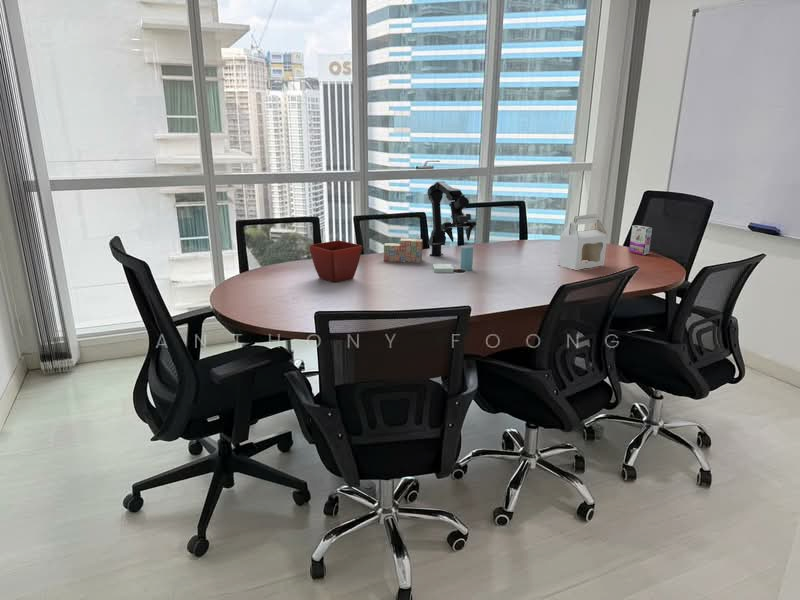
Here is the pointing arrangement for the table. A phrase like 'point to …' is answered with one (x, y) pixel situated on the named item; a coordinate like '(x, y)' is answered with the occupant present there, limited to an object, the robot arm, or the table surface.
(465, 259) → the teal pillar
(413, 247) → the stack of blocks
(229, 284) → the table surface
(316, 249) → the plant pot
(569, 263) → the gable box
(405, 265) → the table surface
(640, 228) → the candy bar box
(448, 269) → the base tile
